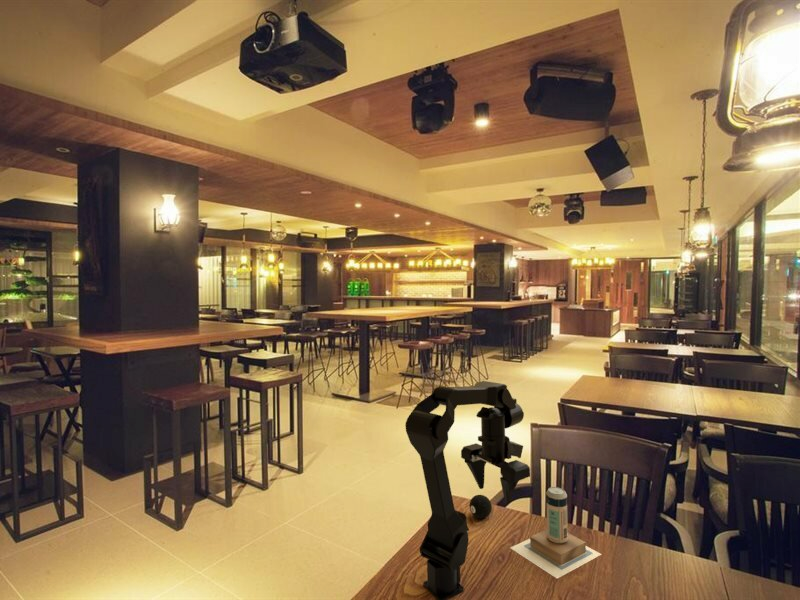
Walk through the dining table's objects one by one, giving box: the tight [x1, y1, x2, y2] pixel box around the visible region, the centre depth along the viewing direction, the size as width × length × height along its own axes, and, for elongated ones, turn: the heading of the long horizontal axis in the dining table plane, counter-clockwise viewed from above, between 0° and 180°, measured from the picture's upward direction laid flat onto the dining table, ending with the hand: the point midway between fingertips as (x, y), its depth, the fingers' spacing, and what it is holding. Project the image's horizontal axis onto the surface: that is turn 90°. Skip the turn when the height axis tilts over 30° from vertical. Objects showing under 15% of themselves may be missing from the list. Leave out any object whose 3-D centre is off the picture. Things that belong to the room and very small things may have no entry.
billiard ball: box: [469, 494, 493, 519], centre depth 125 cm, size 6×6×6 cm
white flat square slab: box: [509, 538, 602, 579], centre depth 107 cm, size 16×14×1 cm
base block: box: [529, 528, 587, 565], centre depth 108 cm, size 9×9×2 cm
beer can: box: [545, 486, 568, 544], centre depth 107 cm, size 5×5×12 cm
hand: (494, 495), depth 110 cm, fingers open, 9 cm apart
